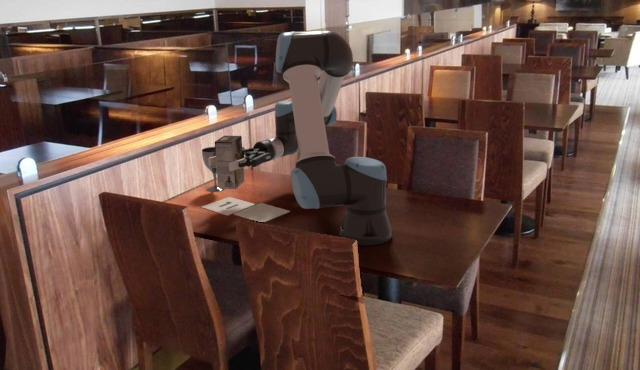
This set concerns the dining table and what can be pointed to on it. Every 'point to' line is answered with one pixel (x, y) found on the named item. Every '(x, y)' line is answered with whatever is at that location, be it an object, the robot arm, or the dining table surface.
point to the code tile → (228, 206)
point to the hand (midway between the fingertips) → (219, 164)
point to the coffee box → (228, 161)
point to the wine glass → (206, 155)
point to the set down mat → (261, 212)
